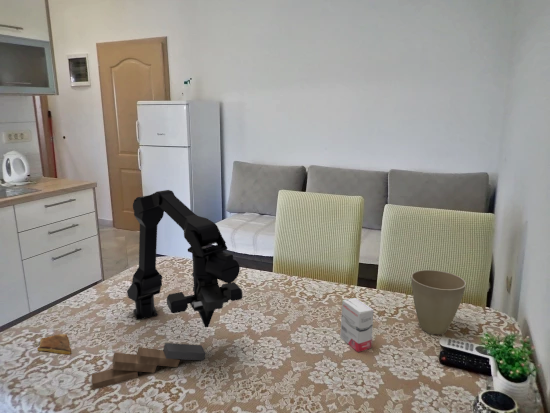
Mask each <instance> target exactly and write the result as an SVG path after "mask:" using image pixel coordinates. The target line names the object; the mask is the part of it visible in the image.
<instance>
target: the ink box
mask: <svg viewBox="0 0 550 413" xmlns="http://www.w3.org/2000/svg"><path fill="white" fill-rule="evenodd" d="M341 305H342V306H341V321H340V338H341V339H342V340H343V342H345V343H346V344H348V345H349V346H350V347H351V348H352V349H354V350H355V351H356V352H357V353H359V352H362V351H366V350H369V349H371V348H372V342H373V323H374V322H373V321H374V309H373V308H371V307H370V306H368V305H367V304H366V303H364V302H362V301H361V300H360V299H358V298H357V297H354V298H353V297H352V298H347V299H343V300H342V302H341Z"/></svg>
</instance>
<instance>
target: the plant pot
mask: <svg viewBox="0 0 550 413" xmlns="http://www.w3.org/2000/svg"><path fill="white" fill-rule="evenodd" d="M410 276H411V289H412V298H413V304H414V309H415V313H416V316H417V320H418V325H419V327H420V328H422V329H423V330H422V329H421V330H422V331H424V332H426V333H429V334H432V335H444V334H446V332H447V331H448V329H449V327H450V326H451V324H452V322H453V321H454V319H455V316H456V314H457V313H458V310H459V307H460V305H461V303H462V299H463V296H464V293H465V289H466V287H467V282H466V280H465V279H464V278H462V277H461V276H459V275H456V274H454V273H452V272H447V271H442V270H438V269H437V270H435V269H421V270H417V271H415V272H414V271H413V272H412V273H411V275H410ZM443 333H444V334H443Z"/></svg>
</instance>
